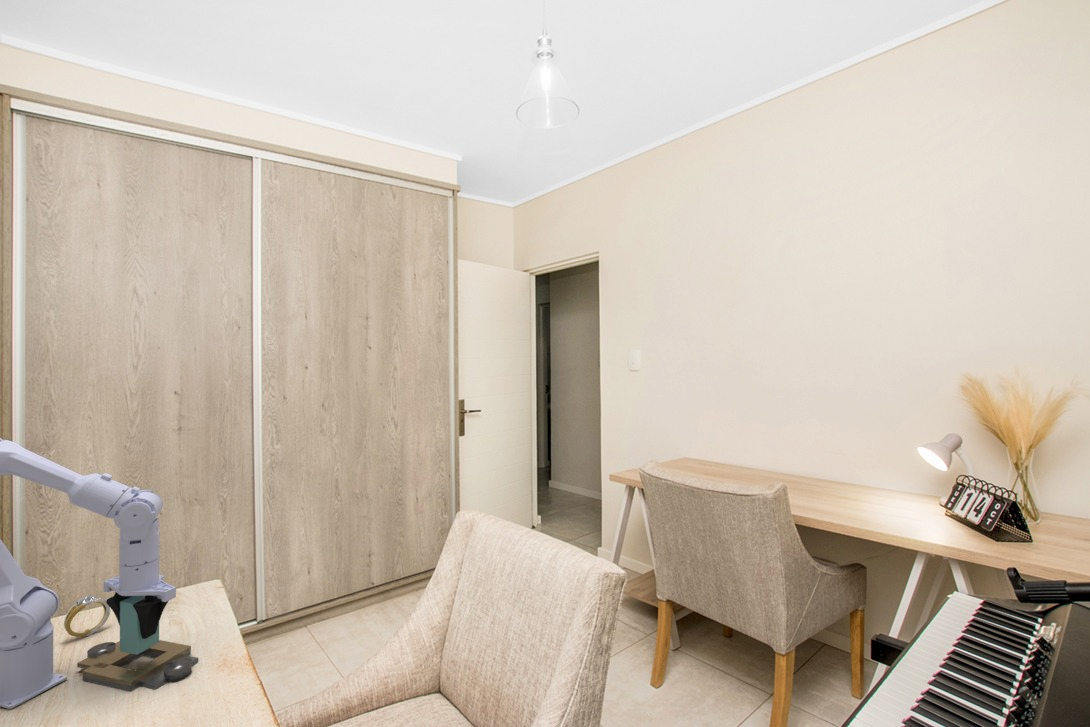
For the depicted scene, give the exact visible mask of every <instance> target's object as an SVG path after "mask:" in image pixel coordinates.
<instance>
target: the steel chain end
mask: <svg viewBox="0 0 1090 727" xmlns="http://www.w3.org/2000/svg"><path fill="white" fill-rule="evenodd" d="M191 655H192V649H191V650H190V651H189V652H187V653H185V654H184V655H182V656H181V657H179V658H177V659H175V660H173V661H171V662H169V663H167V664H166V665H165V666H164V667H163V668H161V669H159V670H158V671H156V672H154V673H153V674H151V675H149V676H148V677H146V678H145V679H143V680H141V681H140V682H138V683H136V684H135V685H133V686H131V687H130V686H125V685H121V684H116V683H112V682H108V681H103V680H99V679H95V678H90V677H86V676H81V677H82V678H81V679H82V681H84V682H89V683H93V684H96V685H97V684H98V685H101V686H106V687H111V688H115V689H118V690H122V691H123V690H124V691H127V692H133V691H134V690H135V689H138V688H139V687H142V688H143V687H144V688H148V689H152V690H158V689H159V688H160V687H162V686H164V685H165V684H167V683H177V682H179V681H182V680H184V679H186V678H188V677H189V676H190V675H191V674H192V670H193V669H192V668H193V666H194V665H196V664H198V663H199V657H197V656H191ZM142 656H144V657H145V656H146V657H150V658H154V659H155V658H157V657H159V656H160V654H156V653H151V652H146V651H143V652H141V653H139V654H138V655H135V656H133V657H131V658H129V659H127V660H126V661H124V662H122V663H120V664H118V665H117V667H122V668H123V667H124V666H126V665H128V664H129V663H132V662H133V661H135V660H137V659H139V658H141V657H142Z"/></svg>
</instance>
